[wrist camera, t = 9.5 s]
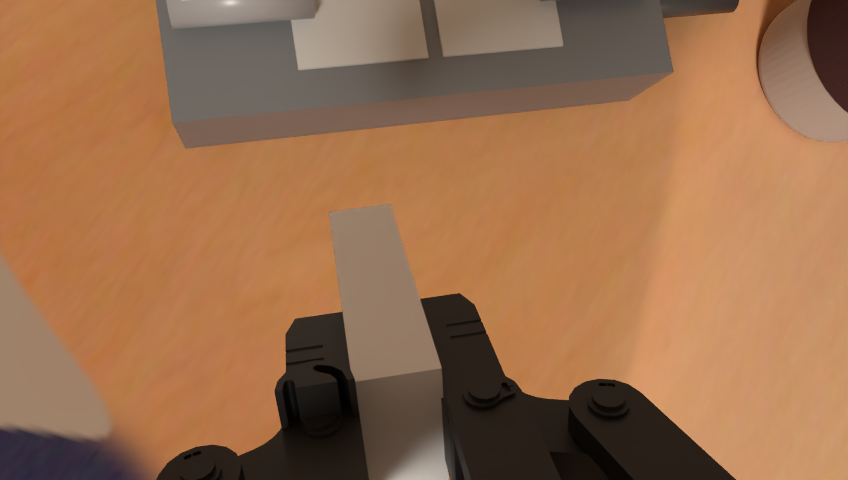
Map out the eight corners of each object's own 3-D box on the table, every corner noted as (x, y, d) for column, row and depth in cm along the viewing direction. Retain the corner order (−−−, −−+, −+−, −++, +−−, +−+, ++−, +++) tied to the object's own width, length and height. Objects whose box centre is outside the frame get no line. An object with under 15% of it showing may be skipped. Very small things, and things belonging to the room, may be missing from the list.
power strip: (700, -69, 36) (754, -118, 32) (731, 89, 36) (790, 59, 32) (160, -38, 31) (142, -92, 27) (185, 148, 30) (172, 121, 26)
